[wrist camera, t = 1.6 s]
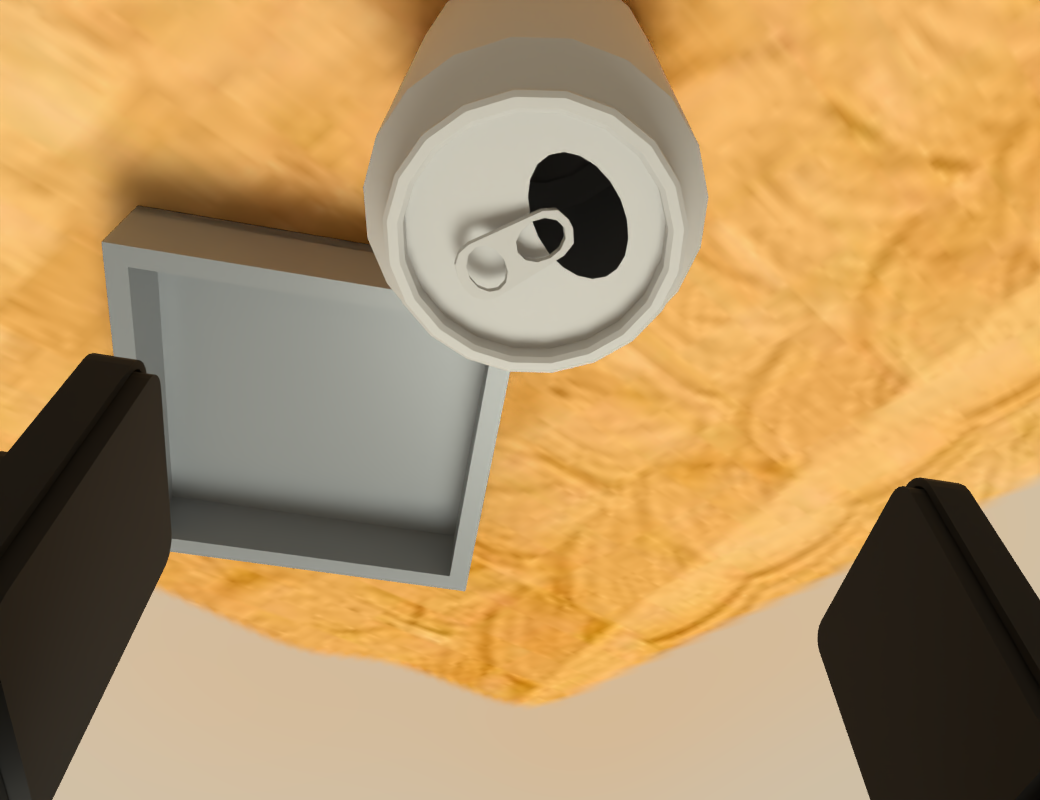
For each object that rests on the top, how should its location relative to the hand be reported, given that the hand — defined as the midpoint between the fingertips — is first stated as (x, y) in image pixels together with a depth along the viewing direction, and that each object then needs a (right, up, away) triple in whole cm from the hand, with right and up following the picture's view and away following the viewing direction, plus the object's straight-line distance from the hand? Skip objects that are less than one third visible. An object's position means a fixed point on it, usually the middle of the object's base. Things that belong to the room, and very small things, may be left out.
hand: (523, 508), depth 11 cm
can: (0, +11, +16) cm, 20 cm away
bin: (-8, +2, +23) cm, 24 cm away
